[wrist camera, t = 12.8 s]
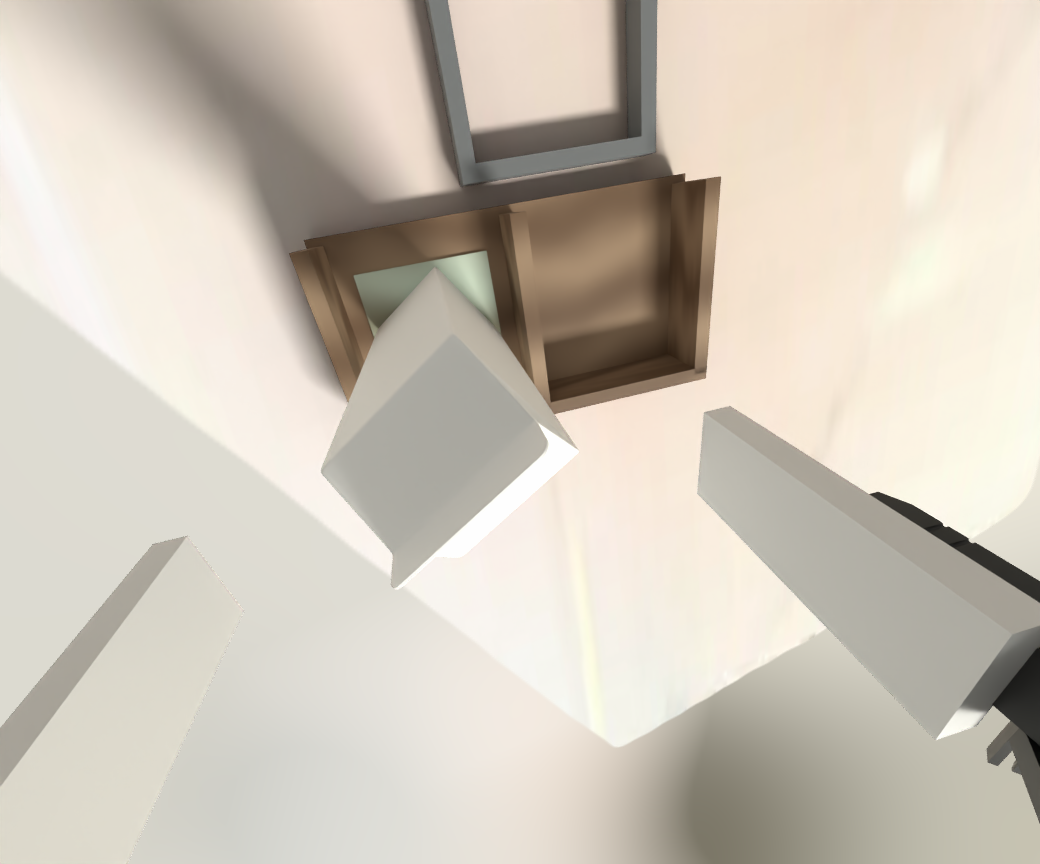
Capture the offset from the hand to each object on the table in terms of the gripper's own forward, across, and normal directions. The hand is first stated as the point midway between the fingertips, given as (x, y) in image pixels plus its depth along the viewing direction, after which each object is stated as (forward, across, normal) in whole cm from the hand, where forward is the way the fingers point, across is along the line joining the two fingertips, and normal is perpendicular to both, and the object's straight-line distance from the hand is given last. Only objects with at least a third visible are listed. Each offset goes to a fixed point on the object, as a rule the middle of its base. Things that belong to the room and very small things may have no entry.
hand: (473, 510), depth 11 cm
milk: (+22, 0, 0) cm, 22 cm away
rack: (+23, +6, 0) cm, 24 cm away
